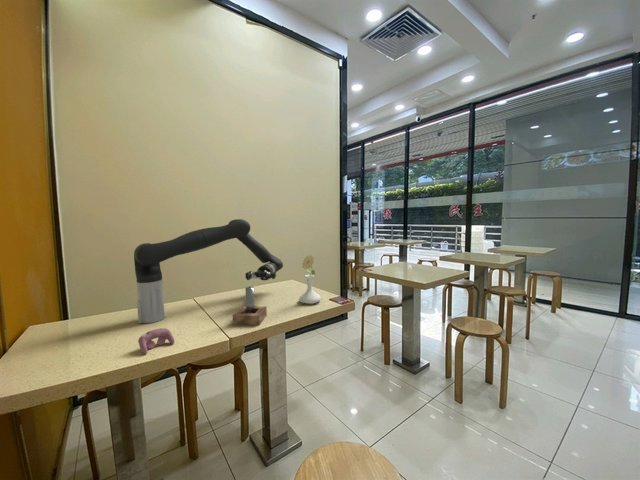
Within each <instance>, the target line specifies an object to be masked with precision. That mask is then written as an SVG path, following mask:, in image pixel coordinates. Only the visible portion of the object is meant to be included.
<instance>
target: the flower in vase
mask: <svg viewBox="0 0 640 480" xmlns="http://www.w3.org/2000/svg"><path fill="white" fill-rule="evenodd" d="M314 261H315V257H314V256H313V255H312V254H310V255H309V254H308V255H306V256H305V257H304V258H303V260H302V263H301V264H302V266H301V267H302V268H303V269H304V270H305V271H306V272H307V273H309V274H305V275H304V277H305V279H306V283H307V287H306V288H307V289H306V290H305V292H303V293H302V294H301V295H300V296H299V298H298V301H299V302H301V303H302V304H306V305H307V304H308V305H309V304H310V305H311V304H316V303H318V302H320V301H321V300H322V298H321V295H320V294H318V293H317V292H315V290H314V289H313V279H314V277H315V275H316V271H315V269H313V267H312V266H313V264H314V263H315V262H314ZM309 269H312V270H311V271H310V270H309Z"/></svg>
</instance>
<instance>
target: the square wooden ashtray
mask: <svg viewBox="0 0 640 480" xmlns="http://www.w3.org/2000/svg"><path fill="white" fill-rule="evenodd" d="M254 308H255V313H246V305H244V306H241V307H239V309H238V310H236V311H235V313H233V314H232V325H233V326H260V325H261V324H262V323H263V321H264V319H266V317H267V316H268V315H267V313H268V312H267V311H268V309H267V306H255V305H254Z"/></svg>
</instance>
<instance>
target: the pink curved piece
mask: <svg viewBox="0 0 640 480" xmlns="http://www.w3.org/2000/svg"><path fill="white" fill-rule="evenodd" d="M154 339H157V340H156V341H157V342H155V341H154ZM166 340H167V341H168V342H169V343H170V344H171V345H174V344H175V338H174V336H173V333H172V332H171V330H170V329H168V328H167V327H163V328H160V327H159V328H156V329H152V330H149V331H147V332H145V333H144V334H141V336H140V337H139V338H138V341H137V343H138V345H139V346H138V347H139V349H140V351H141V353H142V354H144V355H147V354H148V350H149V349H150V350H151V349H153V348H154V347H155V346H156V343H157V345H158V346H162V345H164V344H165V343H166Z"/></svg>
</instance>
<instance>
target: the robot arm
mask: <svg viewBox="0 0 640 480" xmlns="http://www.w3.org/2000/svg"><path fill="white" fill-rule="evenodd" d="M250 232H251V224H250V223H249V222H248V221H247V220H245V219H242V218H241V219H240V218H238V219H232V220H230V221H229V222H228V224H224V225H221V226H214V227H206V228H201V229H200V228H199V229H196V230H193V231H189V232H187V233H185V234H181V235H180V236H177V237H176V238H173V239H170V240H165V241H161V242H155V243H150V242H146V243H141V244H139V245H138V246H136V248H135V250H134V252H133V262H134V263H133V264H134V273H135V278H136V288H137V290H136V291H137V301H136V304H137V305H136V306H137V320H138V324H150V323H151V324H152V323H156V322H159V321H162V320H163V319H165V318H166V317H165V315H166V314H165V299H164V285H163V282H164V281H163V273H162V269H161V263H162V262H164V261H166V260H169V259H172V258H174V257H177V256H182V255H186V254H189V253H193V252H197V251H200V250H204V249H207V248H209V247H213V246H215V245H218V244H220V243H222V242H225V241H228V240H233V239H237V240H238V241H239V242H240V243H242V244H243V246H245V247H246V248H247V249H248V250H249V251H250V252H251V253H252V254H253V255H254V256H255V257H256V258H257V259H258V260H259V261H260V262H261V263H263V264H262V265H261V266H259V267H258V268H257V270H255V271H252V270H250V271H247V272H245V279H246V280H247V281H250V280H251V279H252V280H255V279H259V280H261V281H268V280H271V279H272V280H275V279H276V277H277V272H278V271H280V270H282V269H283V268H284V264H283V262H282V260H281V259H280V258H278V257H277V256H275V255H273V254H272V253H271V252H270V251H269V250H268V249H267V248H266V247H265V246H264V245H263V244H262V243H260V242H259V241H258V240H257V239H256V238H254V237H253V236H252V235H251V234H250Z"/></svg>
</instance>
